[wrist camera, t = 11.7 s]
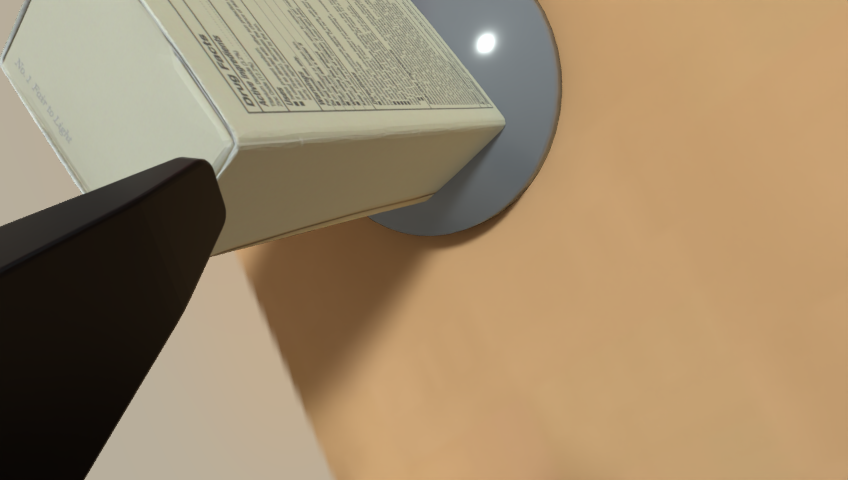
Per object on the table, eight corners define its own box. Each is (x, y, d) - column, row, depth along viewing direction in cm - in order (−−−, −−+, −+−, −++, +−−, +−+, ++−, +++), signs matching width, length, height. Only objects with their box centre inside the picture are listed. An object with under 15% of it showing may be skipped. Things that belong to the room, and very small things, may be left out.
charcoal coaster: (557, 244, 23) (548, 248, 22) (323, 221, 28) (310, 224, 27) (567, -77, 21) (558, -83, 20) (313, -38, 26) (299, -42, 25)
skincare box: (332, 76, 25) (-13, 58, 15) (407, -18, 23) (59, -113, 13) (431, 208, 24) (129, 288, 14) (519, 123, 22) (236, 143, 11)
